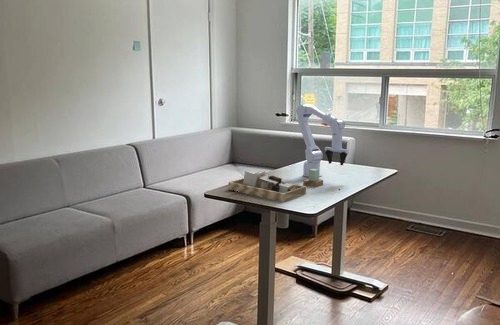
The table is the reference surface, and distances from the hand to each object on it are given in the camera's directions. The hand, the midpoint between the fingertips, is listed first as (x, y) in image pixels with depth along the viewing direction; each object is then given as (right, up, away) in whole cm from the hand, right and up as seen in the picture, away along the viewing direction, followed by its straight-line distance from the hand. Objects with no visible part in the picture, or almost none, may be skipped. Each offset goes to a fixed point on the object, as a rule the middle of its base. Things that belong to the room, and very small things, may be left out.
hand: (335, 164), depth 276 cm
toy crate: (-41, -15, -24) cm, 49 cm away
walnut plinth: (-14, -12, -7) cm, 20 cm away
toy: (-39, -15, -23) cm, 47 cm away
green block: (-14, -9, -7) cm, 18 cm away
